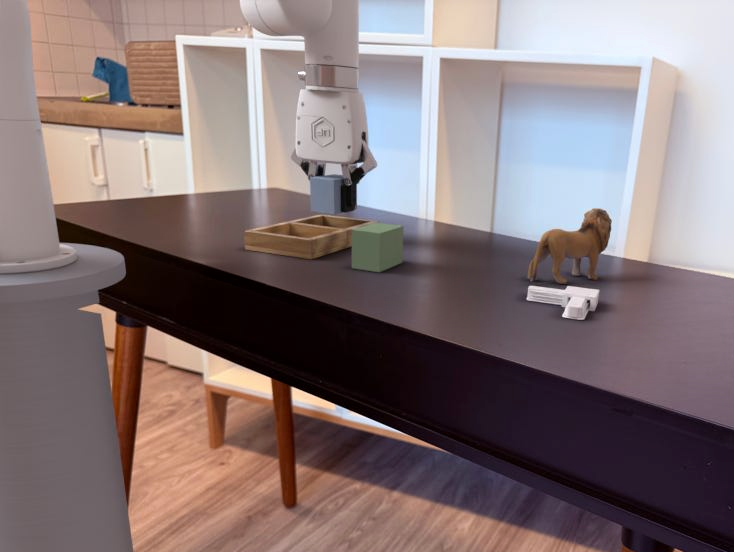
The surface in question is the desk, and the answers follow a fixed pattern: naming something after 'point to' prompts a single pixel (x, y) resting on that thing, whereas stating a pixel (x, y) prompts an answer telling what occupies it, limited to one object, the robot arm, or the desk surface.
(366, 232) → the pad
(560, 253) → the lion figurine
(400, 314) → the desk surface
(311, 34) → the robot arm
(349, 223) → the tray
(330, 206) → the blue-grey block
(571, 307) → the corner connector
